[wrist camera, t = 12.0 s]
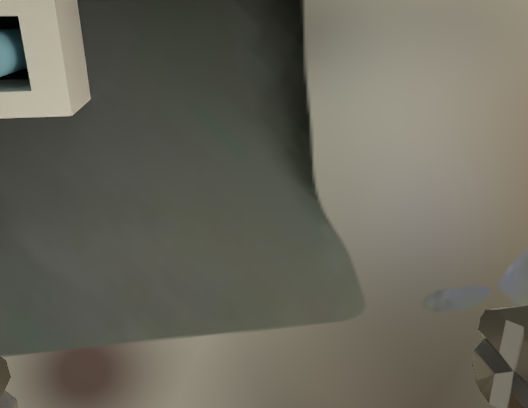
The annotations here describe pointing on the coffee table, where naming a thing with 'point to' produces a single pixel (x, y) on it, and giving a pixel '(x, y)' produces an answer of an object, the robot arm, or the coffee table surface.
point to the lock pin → (11, 51)
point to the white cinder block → (47, 61)
